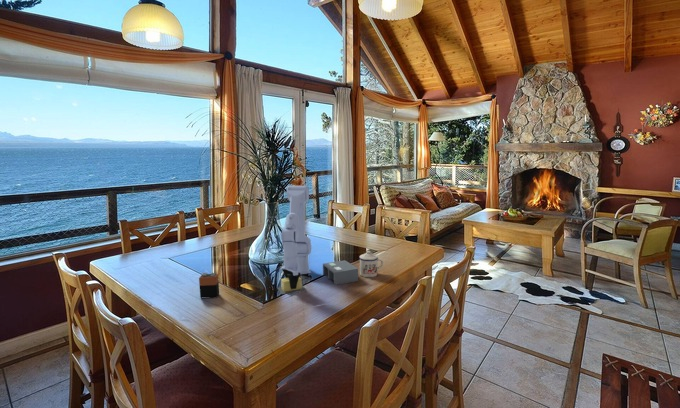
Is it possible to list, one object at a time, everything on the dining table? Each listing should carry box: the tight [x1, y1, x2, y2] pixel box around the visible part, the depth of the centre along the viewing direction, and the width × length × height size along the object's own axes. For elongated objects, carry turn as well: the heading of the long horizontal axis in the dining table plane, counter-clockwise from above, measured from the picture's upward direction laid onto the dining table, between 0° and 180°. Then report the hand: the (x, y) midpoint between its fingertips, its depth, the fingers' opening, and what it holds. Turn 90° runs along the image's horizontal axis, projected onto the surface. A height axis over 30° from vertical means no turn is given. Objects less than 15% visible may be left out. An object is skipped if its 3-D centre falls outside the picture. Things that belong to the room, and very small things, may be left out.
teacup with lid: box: [358, 250, 384, 278], centre depth 168 cm, size 12×9×12 cm
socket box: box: [322, 259, 359, 285], centre depth 164 cm, size 14×12×6 cm
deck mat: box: [276, 285, 307, 295], centre depth 151 cm, size 8×11×1 cm
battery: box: [198, 272, 220, 298], centre depth 144 cm, size 4×7×10 cm, turn 96°
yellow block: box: [280, 276, 303, 292], centre depth 151 cm, size 4×8×4 cm, turn 115°
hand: (291, 286), depth 151 cm, fingers open, 6 cm apart
